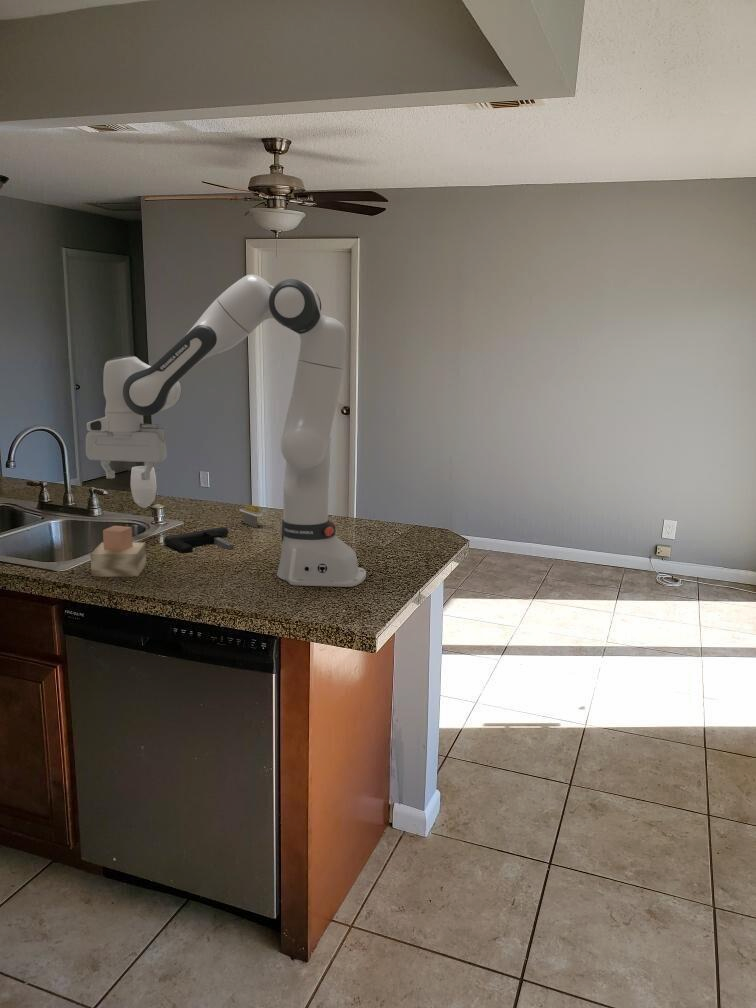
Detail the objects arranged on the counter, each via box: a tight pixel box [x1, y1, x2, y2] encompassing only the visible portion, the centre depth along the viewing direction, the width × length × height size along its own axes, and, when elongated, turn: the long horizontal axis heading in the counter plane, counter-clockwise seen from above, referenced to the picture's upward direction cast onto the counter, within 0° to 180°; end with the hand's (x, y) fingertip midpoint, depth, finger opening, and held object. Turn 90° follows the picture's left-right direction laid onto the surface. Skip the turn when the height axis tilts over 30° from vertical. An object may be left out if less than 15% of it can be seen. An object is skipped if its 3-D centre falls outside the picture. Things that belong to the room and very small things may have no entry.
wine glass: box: [130, 465, 158, 509], centre depth 227 cm, size 7×7×21 cm
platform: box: [239, 503, 264, 529], centre depth 248 cm, size 12×18×7 cm, turn 41°
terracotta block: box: [102, 525, 134, 551], centre depth 196 cm, size 5×5×5 cm
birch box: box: [89, 542, 147, 578], centre depth 197 cm, size 11×11×6 cm
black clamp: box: [163, 526, 235, 554], centre depth 224 cm, size 3×20×16 cm
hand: (128, 478), depth 195 cm, fingers open, 8 cm apart
